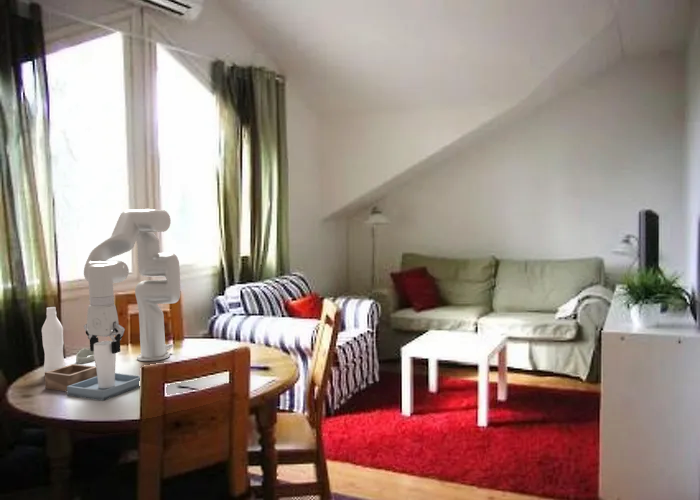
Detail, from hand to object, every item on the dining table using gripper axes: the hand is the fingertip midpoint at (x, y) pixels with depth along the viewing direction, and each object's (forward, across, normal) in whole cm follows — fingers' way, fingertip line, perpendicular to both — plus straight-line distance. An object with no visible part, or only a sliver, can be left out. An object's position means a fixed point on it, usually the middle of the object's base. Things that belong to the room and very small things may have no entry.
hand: (105, 351), depth 207 cm
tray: (+13, 0, -1) cm, 13 cm away
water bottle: (+14, -34, +7) cm, 37 cm away
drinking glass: (+12, 0, -1) cm, 12 cm away
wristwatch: (+15, -39, +26) cm, 49 cm away
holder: (+13, -16, -1) cm, 20 cm away
